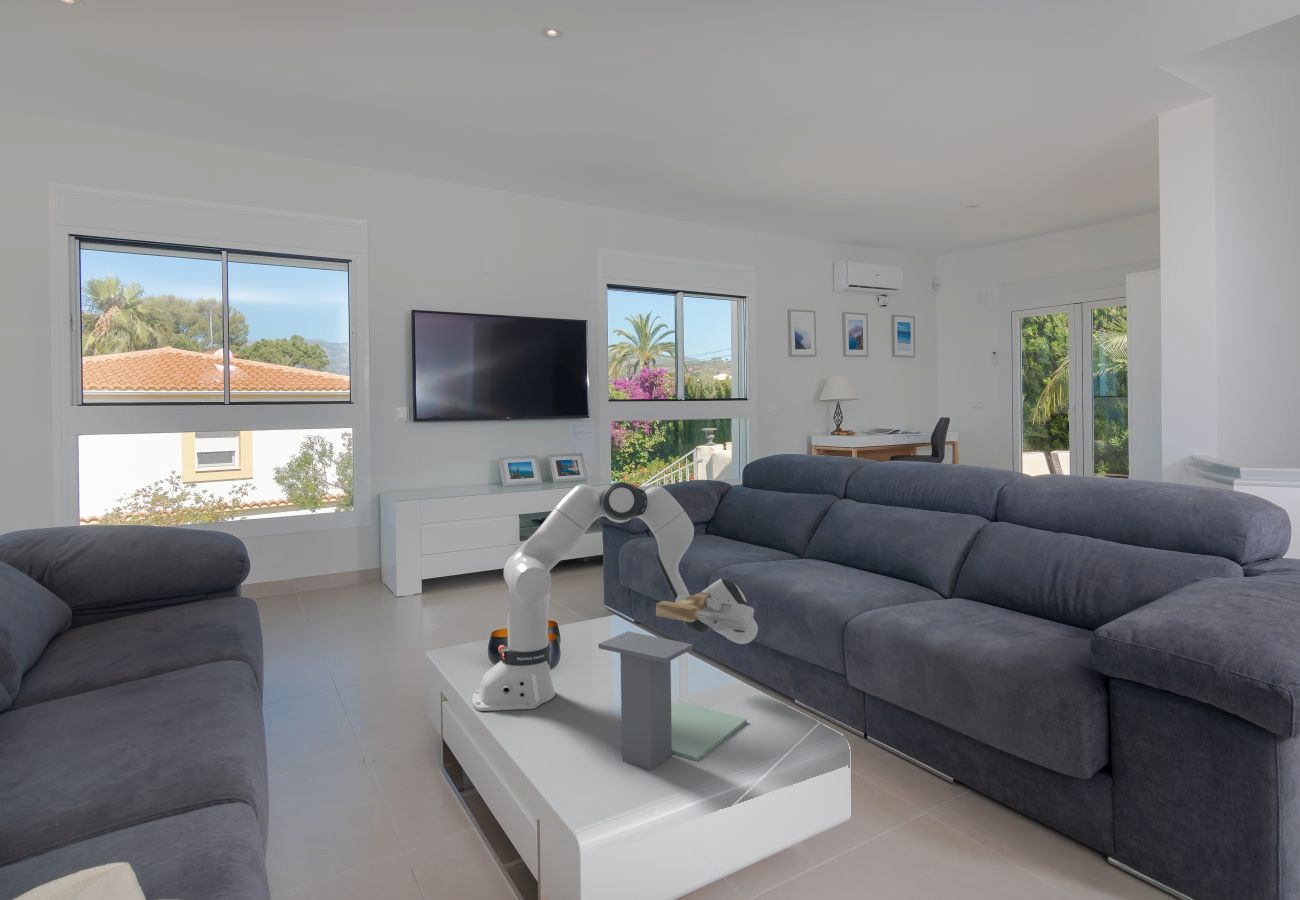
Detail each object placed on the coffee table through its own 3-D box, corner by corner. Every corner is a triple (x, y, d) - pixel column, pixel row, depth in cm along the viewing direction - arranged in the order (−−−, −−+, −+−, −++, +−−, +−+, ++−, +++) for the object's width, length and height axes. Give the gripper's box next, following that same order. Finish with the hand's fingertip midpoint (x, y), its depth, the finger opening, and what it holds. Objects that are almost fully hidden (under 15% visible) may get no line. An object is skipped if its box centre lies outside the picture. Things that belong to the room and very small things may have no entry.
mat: (679, 704, 188) (679, 701, 188) (746, 722, 176) (746, 718, 176) (625, 738, 168) (625, 735, 168) (696, 761, 157) (696, 757, 157)
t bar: (688, 602, 182) (688, 590, 181) (723, 607, 176) (722, 595, 176) (656, 616, 169) (655, 603, 169) (691, 622, 164) (691, 609, 163)
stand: (629, 738, 168) (627, 631, 167) (694, 759, 158) (692, 644, 156) (600, 757, 159) (598, 643, 158) (666, 780, 149) (665, 658, 147)
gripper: (692, 599, 193) (667, 582, 183) (760, 609, 181) (737, 592, 171) (686, 621, 191) (661, 606, 181) (754, 633, 179) (731, 618, 169)
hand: (699, 599), depth 176 cm, fingers closed on t bar, 3 cm apart
